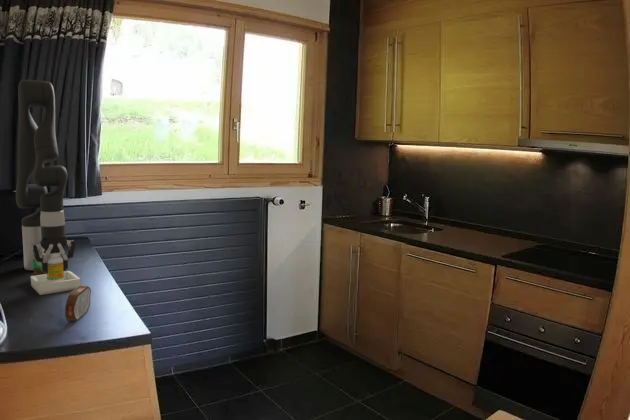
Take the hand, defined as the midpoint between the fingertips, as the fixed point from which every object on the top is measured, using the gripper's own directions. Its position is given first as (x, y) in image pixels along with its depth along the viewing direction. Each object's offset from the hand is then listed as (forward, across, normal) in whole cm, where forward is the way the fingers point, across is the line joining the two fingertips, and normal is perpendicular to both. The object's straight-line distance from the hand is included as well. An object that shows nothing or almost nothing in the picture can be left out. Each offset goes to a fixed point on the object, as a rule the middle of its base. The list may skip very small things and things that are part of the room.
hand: (55, 271), depth 187 cm
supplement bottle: (+3, 0, 0) cm, 3 cm away
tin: (+6, +2, +35) cm, 36 cm away
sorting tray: (+6, 0, 0) cm, 6 cm away
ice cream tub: (+6, -2, -15) cm, 16 cm away
